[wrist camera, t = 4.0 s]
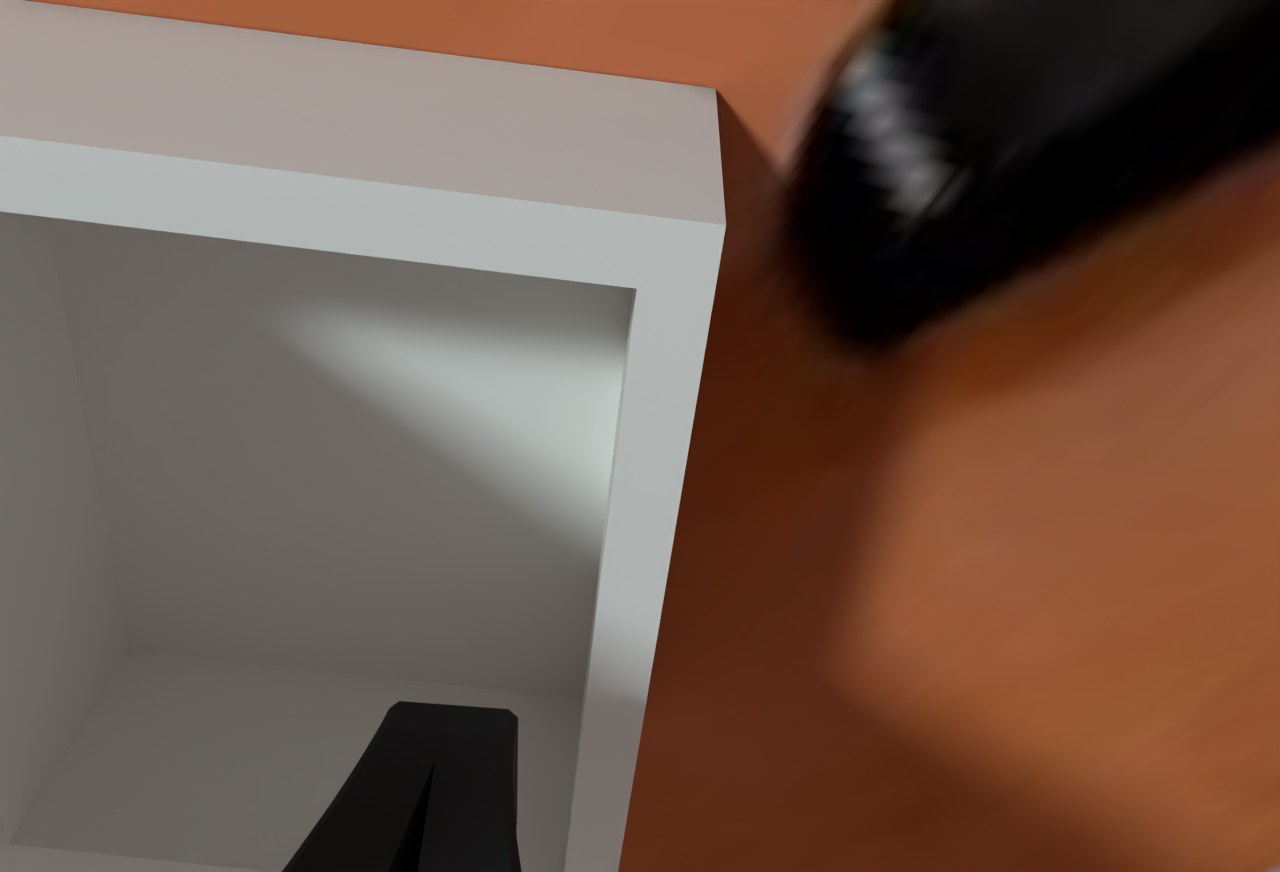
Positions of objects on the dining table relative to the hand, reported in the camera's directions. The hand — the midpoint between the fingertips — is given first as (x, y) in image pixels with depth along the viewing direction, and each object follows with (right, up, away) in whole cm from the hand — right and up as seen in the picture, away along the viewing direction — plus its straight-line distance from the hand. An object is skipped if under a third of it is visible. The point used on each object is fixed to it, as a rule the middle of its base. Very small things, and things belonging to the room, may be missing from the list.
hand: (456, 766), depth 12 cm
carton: (-3, +4, +6) cm, 7 cm away
